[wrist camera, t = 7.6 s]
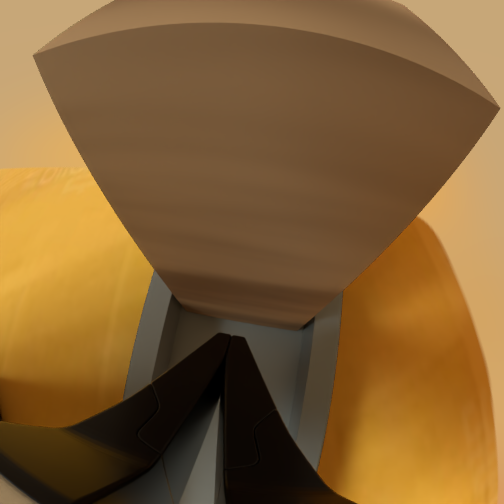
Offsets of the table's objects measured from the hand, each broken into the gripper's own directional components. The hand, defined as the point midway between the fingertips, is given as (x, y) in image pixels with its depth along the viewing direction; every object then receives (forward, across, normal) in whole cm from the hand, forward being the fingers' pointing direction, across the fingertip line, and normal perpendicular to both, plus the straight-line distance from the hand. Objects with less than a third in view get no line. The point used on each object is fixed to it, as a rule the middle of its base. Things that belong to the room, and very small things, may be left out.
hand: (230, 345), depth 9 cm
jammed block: (+7, 0, +1) cm, 7 cm away
